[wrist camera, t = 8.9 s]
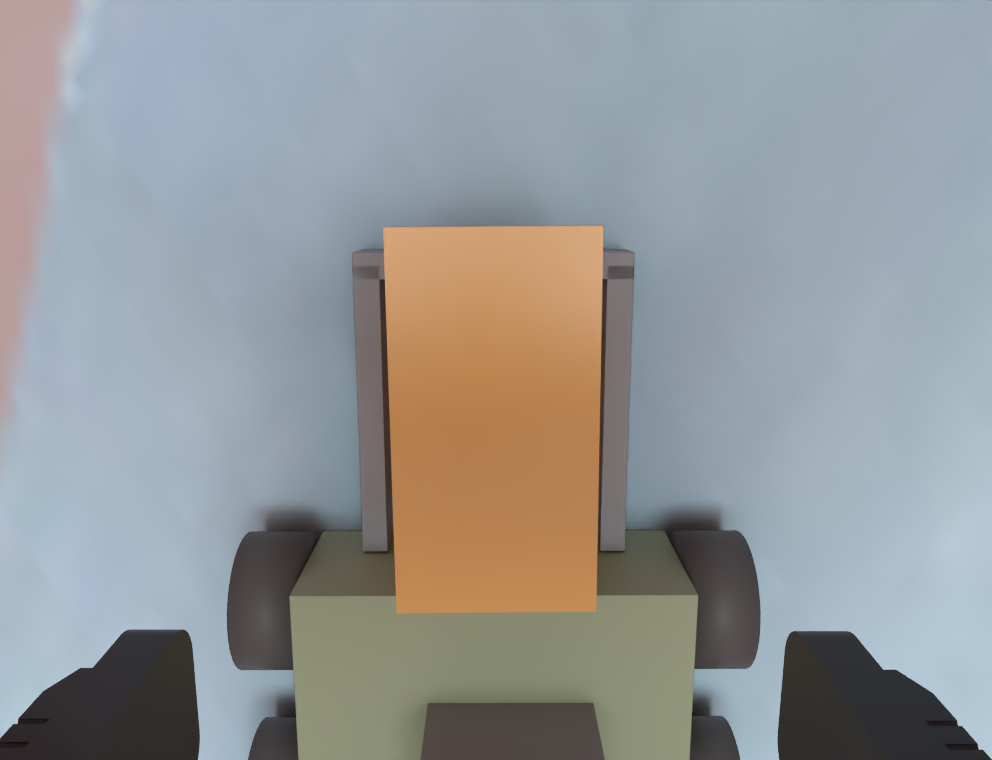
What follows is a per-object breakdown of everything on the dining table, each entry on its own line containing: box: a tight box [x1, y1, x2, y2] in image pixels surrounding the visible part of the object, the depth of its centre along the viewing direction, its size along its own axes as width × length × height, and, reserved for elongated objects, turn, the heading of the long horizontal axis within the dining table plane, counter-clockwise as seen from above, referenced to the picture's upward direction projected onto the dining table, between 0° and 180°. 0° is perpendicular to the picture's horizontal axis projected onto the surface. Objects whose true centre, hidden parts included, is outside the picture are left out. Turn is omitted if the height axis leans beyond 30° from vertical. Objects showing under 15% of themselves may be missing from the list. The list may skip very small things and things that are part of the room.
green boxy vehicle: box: [227, 249, 760, 760], centre depth 25 cm, size 20×16×9 cm
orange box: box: [383, 225, 604, 613], centre depth 24 cm, size 10×5×8 cm, turn 0°
